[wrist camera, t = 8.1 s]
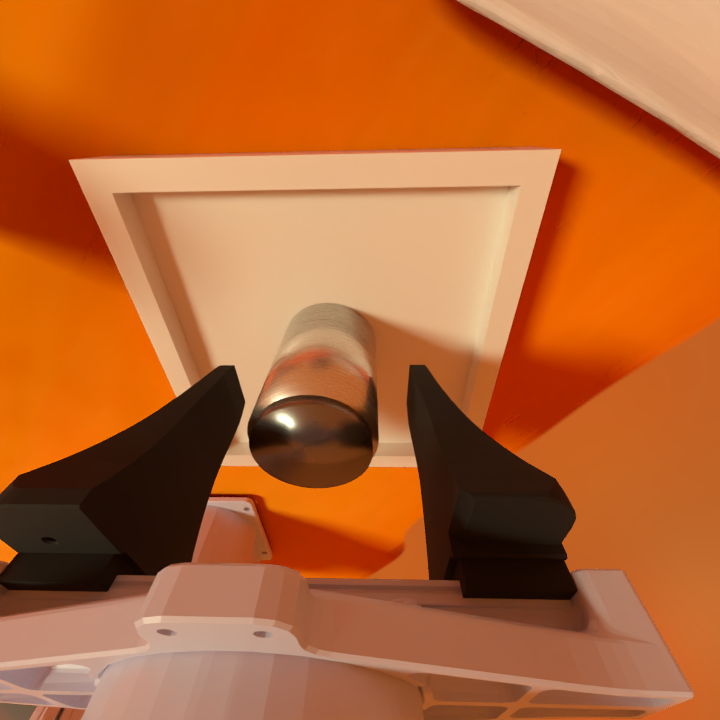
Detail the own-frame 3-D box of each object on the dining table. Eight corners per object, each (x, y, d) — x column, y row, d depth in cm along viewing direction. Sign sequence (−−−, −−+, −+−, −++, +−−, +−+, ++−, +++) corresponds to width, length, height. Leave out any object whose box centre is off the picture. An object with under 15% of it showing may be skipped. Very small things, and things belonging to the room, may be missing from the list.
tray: (463, 441, 21) (471, 467, 20) (219, 440, 22) (207, 465, 20) (535, 146, 12) (561, 149, 10) (107, 155, 12) (68, 159, 11)
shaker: (375, 379, 17) (378, 491, 12) (291, 379, 17) (257, 490, 12) (376, 302, 15) (380, 401, 9) (278, 302, 15) (226, 401, 9)
